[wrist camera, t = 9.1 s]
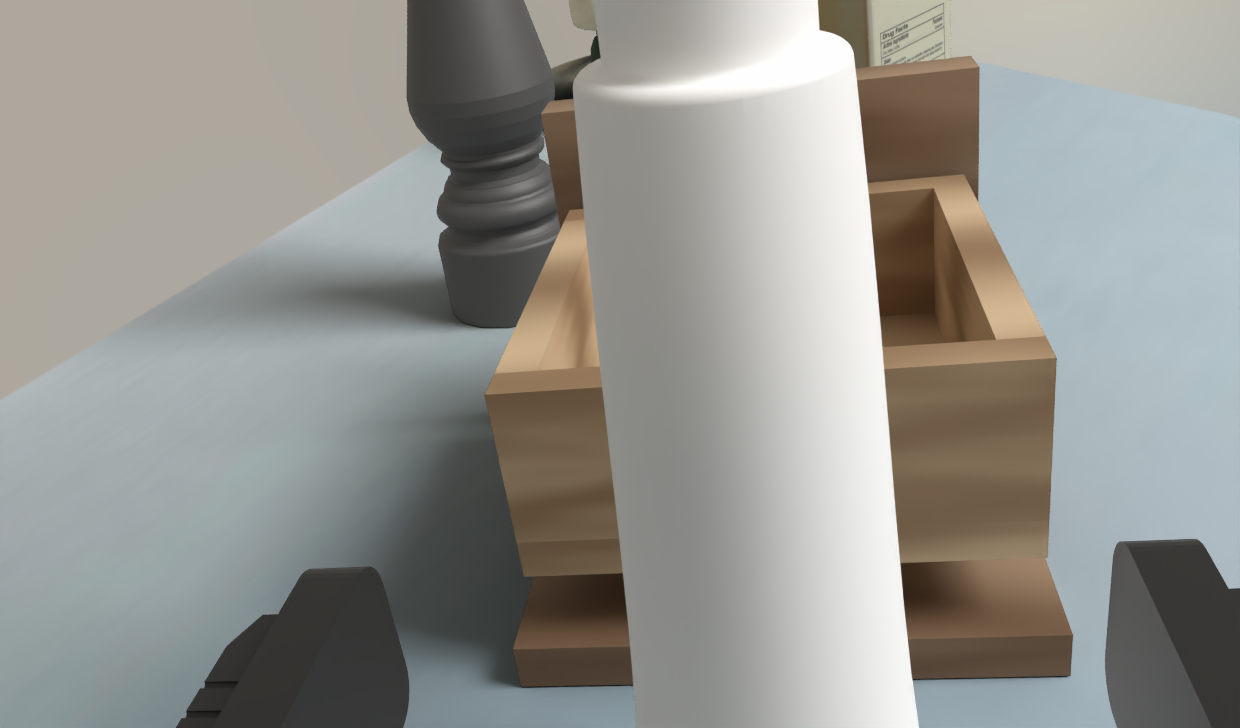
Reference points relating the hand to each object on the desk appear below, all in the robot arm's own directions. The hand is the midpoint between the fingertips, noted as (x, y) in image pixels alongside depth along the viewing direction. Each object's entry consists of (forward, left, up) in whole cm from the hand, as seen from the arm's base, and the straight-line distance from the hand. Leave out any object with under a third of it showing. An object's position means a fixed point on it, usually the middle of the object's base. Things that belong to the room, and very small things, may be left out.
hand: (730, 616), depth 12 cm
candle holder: (+25, +28, -11) cm, 39 cm away
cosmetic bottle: (+4, +2, -11) cm, 12 cm away
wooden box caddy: (+15, +9, -11) cm, 20 cm away
